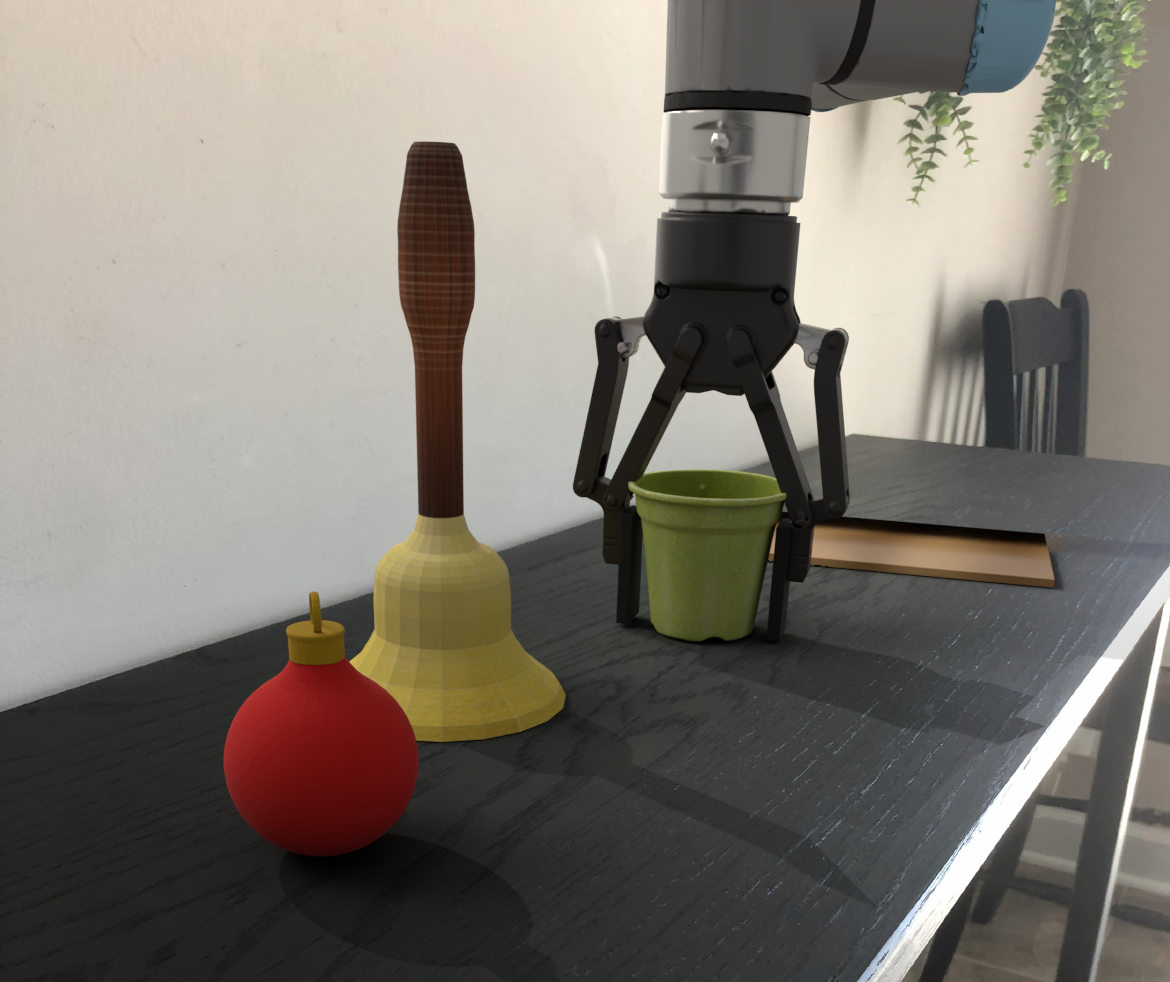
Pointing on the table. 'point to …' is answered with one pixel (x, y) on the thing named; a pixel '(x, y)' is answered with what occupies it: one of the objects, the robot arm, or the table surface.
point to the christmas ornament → (320, 749)
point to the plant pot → (706, 548)
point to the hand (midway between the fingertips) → (700, 625)
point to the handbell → (446, 502)
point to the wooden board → (931, 550)
